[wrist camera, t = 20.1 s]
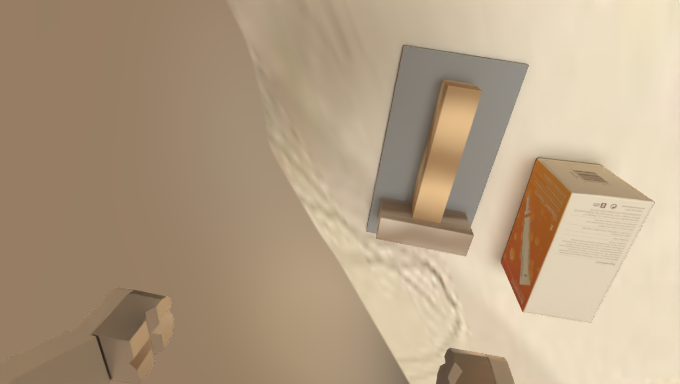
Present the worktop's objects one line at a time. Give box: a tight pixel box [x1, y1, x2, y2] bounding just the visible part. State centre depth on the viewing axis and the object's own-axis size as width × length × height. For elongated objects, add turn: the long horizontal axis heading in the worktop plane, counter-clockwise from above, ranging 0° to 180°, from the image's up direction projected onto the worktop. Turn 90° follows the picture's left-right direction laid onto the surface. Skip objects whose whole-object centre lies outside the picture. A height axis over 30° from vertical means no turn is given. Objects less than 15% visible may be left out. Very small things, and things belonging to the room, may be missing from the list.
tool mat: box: [366, 45, 529, 233], centre depth 36 cm, size 20×11×1 cm, turn 172°
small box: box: [501, 158, 655, 323], centre depth 34 cm, size 8×6×13 cm
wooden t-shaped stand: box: [376, 79, 482, 256], centre depth 33 cm, size 16×9×4 cm, turn 172°
